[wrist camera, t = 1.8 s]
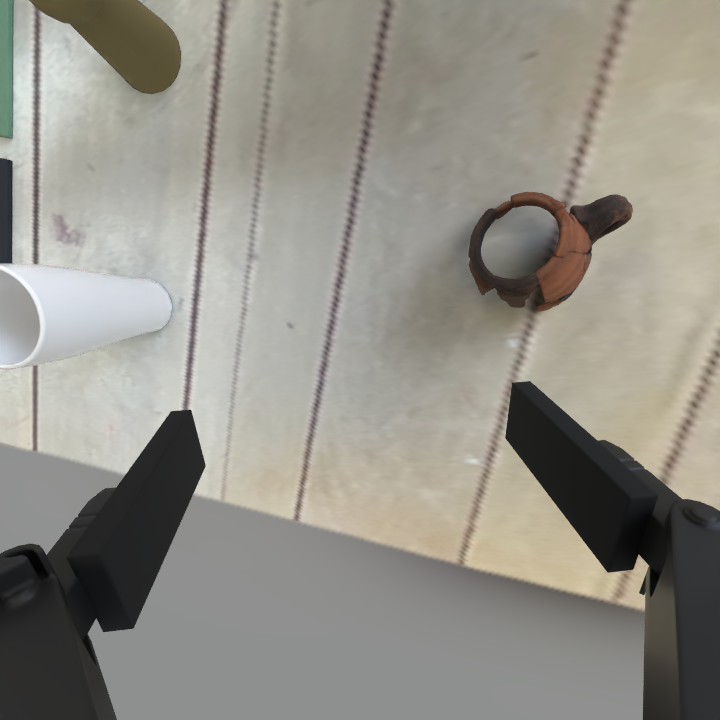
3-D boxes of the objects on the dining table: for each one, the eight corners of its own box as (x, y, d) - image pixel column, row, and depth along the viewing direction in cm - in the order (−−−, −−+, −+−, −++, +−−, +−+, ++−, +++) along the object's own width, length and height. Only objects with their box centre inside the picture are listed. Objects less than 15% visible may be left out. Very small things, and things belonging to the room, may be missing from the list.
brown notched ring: (515, 337, 36) (494, 324, 29) (467, 259, 39) (437, 229, 32) (654, 258, 30) (670, 219, 23) (586, 175, 33) (582, 118, 26)
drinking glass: (127, 342, 39) (-35, 377, 24) (110, 276, 38) (-72, 270, 23) (188, 334, 38) (58, 364, 23) (172, 265, 37) (25, 253, 22)
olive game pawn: (105, 33, 33) (-33, -86, 23) (164, 4, 33) (49, -135, 22) (133, 104, 34) (13, 22, 24) (191, 77, 33) (93, -21, 23)
